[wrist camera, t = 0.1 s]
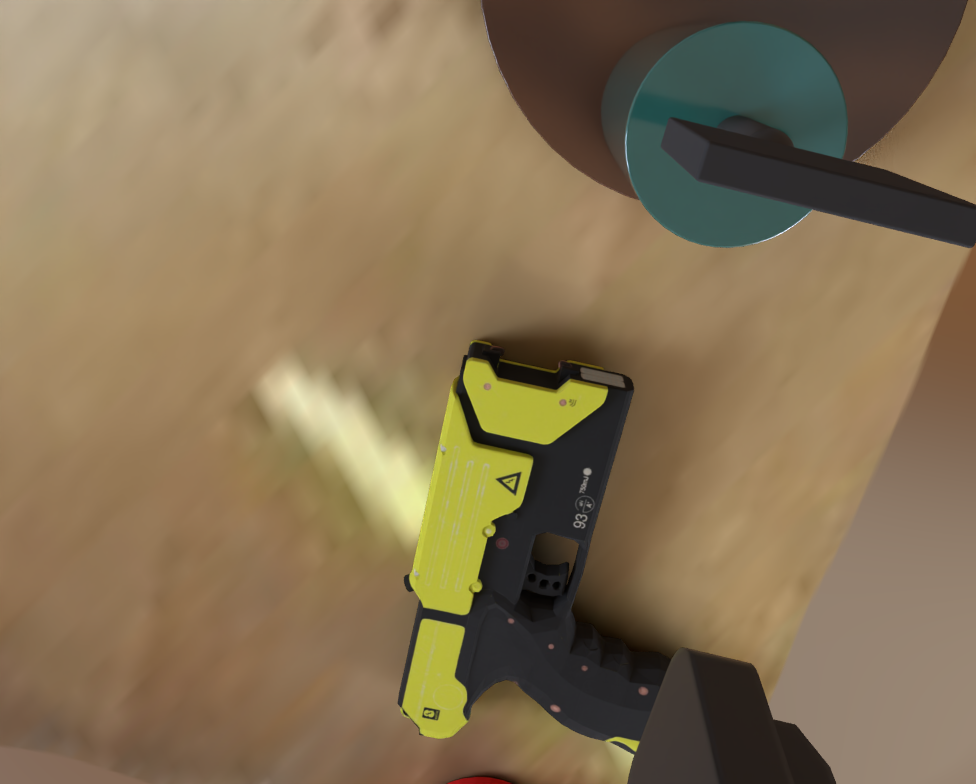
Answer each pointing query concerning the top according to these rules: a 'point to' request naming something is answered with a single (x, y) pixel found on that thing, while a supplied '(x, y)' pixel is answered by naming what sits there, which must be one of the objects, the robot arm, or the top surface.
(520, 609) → the stun gun
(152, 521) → the top surface
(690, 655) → the robot arm
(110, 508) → the top surface
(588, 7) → the teal post stand
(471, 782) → the soda can
